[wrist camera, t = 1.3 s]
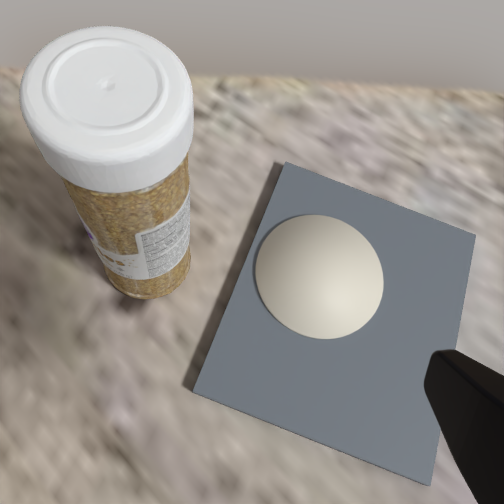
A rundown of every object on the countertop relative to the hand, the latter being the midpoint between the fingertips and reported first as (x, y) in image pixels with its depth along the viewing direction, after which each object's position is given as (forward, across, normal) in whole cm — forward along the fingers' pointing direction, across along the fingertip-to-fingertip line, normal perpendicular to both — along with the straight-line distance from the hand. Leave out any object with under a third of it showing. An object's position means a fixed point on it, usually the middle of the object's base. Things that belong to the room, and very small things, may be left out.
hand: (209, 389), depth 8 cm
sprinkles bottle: (+16, +2, +6) cm, 17 cm away
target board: (+13, -9, +8) cm, 17 cm away
